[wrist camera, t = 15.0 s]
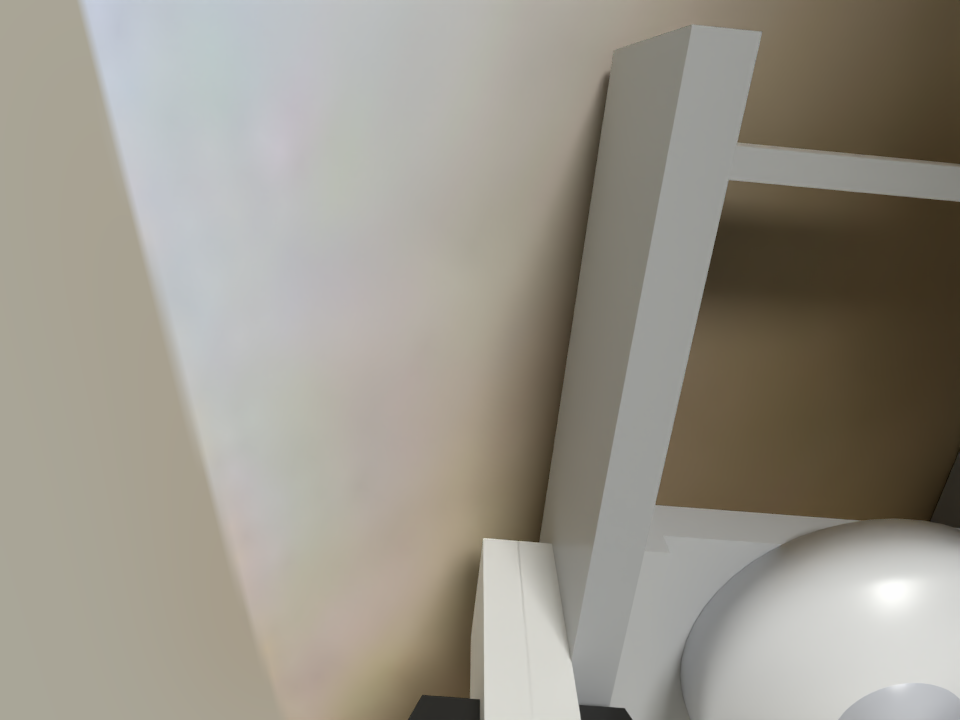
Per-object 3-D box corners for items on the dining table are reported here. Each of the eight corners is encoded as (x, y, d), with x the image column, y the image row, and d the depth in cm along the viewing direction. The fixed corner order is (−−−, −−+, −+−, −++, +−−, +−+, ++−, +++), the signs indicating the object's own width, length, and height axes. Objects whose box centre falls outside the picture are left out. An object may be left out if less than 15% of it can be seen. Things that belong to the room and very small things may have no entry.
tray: (493, 848, 20) (496, 1054, 16) (613, 50, 12) (692, 24, 7) (1037, 879, 20) (1184, 1085, 16) (1519, 141, 12) (2078, 166, 8)
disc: (615, 632, 13) (633, 703, 12) (953, 451, 12) (1024, 506, 10) (775, 816, 15) (807, 896, 14) (1078, 685, 14) (1151, 759, 12)
